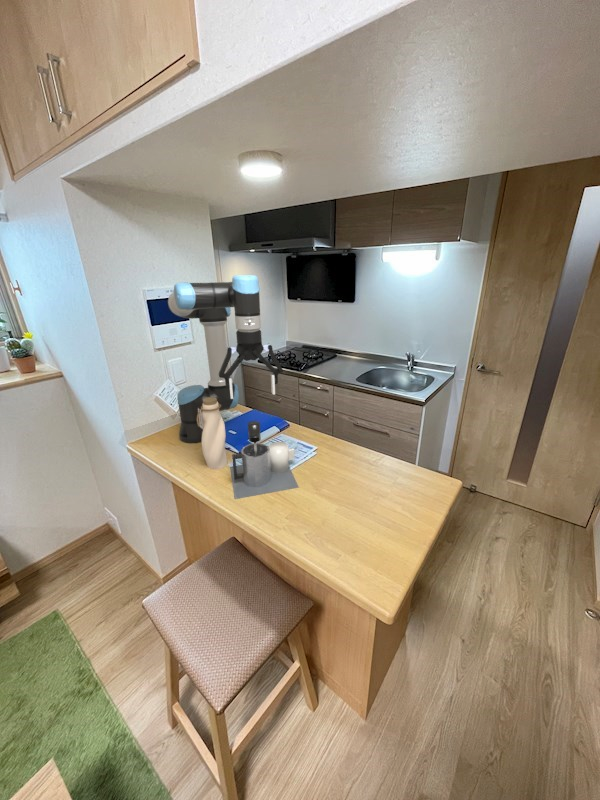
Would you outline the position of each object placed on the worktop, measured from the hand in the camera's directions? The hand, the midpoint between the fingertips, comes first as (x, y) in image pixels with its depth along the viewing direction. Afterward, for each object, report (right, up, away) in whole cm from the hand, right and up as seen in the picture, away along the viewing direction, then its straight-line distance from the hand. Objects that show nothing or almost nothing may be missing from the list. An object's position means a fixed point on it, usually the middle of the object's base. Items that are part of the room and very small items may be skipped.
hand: (252, 395), depth 104 cm
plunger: (0, -28, +9) cm, 29 cm away
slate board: (+2, -30, +12) cm, 33 cm away
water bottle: (-17, -28, +20) cm, 38 cm away
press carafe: (-1, -30, +10) cm, 32 cm away
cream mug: (+9, -27, +17) cm, 34 cm away
